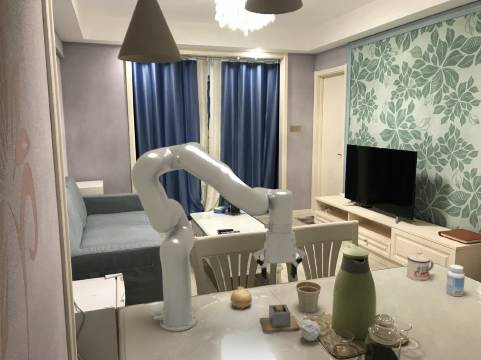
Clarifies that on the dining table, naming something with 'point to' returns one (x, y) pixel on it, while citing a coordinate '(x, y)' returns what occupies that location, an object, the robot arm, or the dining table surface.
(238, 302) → the onion
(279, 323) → the link
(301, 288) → the flower pot
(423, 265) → the teacup with lid
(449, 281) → the pill bottle
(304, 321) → the crumpled paper ball
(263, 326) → the keeper
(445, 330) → the dining table surface
